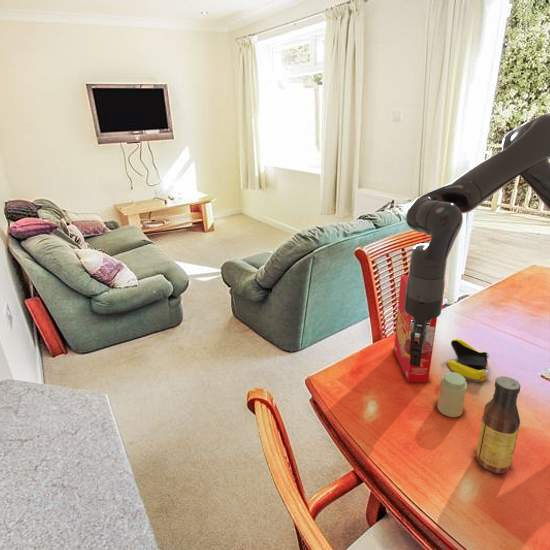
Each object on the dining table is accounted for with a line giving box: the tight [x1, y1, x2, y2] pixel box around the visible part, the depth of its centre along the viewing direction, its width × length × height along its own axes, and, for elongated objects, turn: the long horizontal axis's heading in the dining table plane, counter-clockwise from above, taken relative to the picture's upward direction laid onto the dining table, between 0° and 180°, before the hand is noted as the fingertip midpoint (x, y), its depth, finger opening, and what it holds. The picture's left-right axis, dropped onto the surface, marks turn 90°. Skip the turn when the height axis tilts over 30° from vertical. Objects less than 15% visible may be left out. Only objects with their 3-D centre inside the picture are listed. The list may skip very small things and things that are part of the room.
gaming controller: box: [445, 337, 490, 383], centre depth 103 cm, size 15×6×10 cm
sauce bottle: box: [475, 375, 521, 474], centre depth 73 cm, size 7×6×20 cm
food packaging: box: [393, 274, 438, 383], centre depth 102 cm, size 15×5×25 cm, turn 178°
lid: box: [404, 339, 433, 358], centre depth 86 cm, size 6×6×1 cm
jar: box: [436, 371, 468, 418], centre depth 89 cm, size 6×6×9 cm
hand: (416, 357), depth 87 cm, fingers closed on lid, 6 cm apart
